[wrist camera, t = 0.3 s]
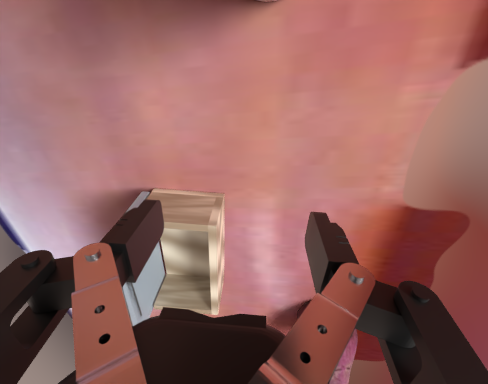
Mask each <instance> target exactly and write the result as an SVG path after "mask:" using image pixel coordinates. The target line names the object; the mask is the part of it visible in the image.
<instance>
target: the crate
mask: <svg viewBox="0 0 488 384" xmlns="http://www.w3.org/2000/svg"><path fill="white" fill-rule="evenodd" d="M147 199H151V200H160V202H161V205H162V212H163V219H164V231H163V234H162V236H161V238H160V240H161V246H162V251H163V257H164V262H165V267H166V273H167V274H166V277H165V279H164V281H163V284H162V286H161V289H160V291H159V294H158V296H157V298H156V301H155V303H154V309H159V310H162V309H163V307H169V308H180V309H189V310H192V311H194V312H197V313H203V314H214V315H218V312H219V305H220V299H221V293H222V287H223V281H224V193H211V192H197V191H184V190H171V189H158V188H154V189H153V191H152V192H151V193H150V195H149V196H148V197H147Z"/></svg>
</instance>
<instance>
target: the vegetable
mask: <svg viewBox="0 0 488 384" xmlns="http://www.w3.org/2000/svg"><path fill="white" fill-rule="evenodd" d="M310 302H311V301H309V302H307V303H305V304H304V305H303V306H302V307H301V308H300V309H299V311H298V313H297V319H299V317H300V316H301V314H302V313H303V312H304V310H305V309H306V307H307V306H308V305H309V303H310ZM356 347H357V330H356V329H355V330H354V332H353V334H352V336H351V338H350V340H349V342H348V344H347V347H346V349H345V351H344V353H343V355H342V357H341V359H340V361H339V363H338V366H337V368H336V370H335V372H334V374H333V376H332V378H331V381H330V383H329V384H348V382H349V376H350V370H351V367H352V363H353V360H354V356H355V352H356Z"/></svg>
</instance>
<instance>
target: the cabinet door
mask: <svg viewBox="0 0 488 384" xmlns="http://www.w3.org/2000/svg"><path fill="white" fill-rule="evenodd" d="M149 195H150V193H149V192H145V191H142V192H141V193H140V195H139V196H138V197H137V198H136V200H135V201H134V202H133V203H132V205H131V206H130V207H129V209H128V210H127V211H126V212H128V211H129V210H131V209H133V208H138V206H139V205H140V204H141V203H142V202H143V200H145V199H147V197H148V196H149ZM126 212H125V213H126ZM165 277H166V276H165V271H164V266H163V260H162V255H161V250H160V245H159V242H158V243H157V245H156V247H155V249H154V250H153V252H152V254H151V256H150V258H149V259H148V261H147V263H146V265H145V267H144V268H143V270H142V272H141V274H140V275H139V277H138V279H137V281H136V283H130V282H126V283H125V284H124V286H123V291H124V294H125V298H126V302H127V305H128V309H129V313H130V316H131V320H132V324H133V326H134V325H136V324H137V323H139V322H141V321H143V320H146V319H149V317H150V314H151V312H152V310H153V307H154V303H155V301H156V298H157V296H158V294H159V291H160V289H161V286H162V284H163V281H164V279H165Z"/></svg>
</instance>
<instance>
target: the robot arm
mask: <svg viewBox="0 0 488 384" xmlns="http://www.w3.org/2000/svg"><path fill="white" fill-rule="evenodd" d="M257 1H262V2H271V1H277V0H257ZM163 231H164V219H163V212H162V205H161V202H160V200H151V199H145V200H143V202H142V203H141V204H140V205H139V206H138V208H133V209H131V210H129V211H128V212H126V213H125V214H124V215H123V216H122V217H121V218H120V220H119V221H118V222H117V223H116V225H114V226H113V228H112V229H111V230H110V231H109V232H108V233H107V234H106V236H105V237H104V238H103V239H102V240H101V241H100V242H99V243H94V244H90V245H87V246H85V247H83V248H82V249H80V250H79V251H78V252H77V253H76V254H75V255H74V256H72V257H66V258H59V259H54V258H53V256H52V253H51V252H49V251H46V250H39V251H33V252H30V253H27V254H25V255H23V256H21V257H19V258H17V259H16V260H14V261H13V262H12V263H11V264H10V265H9V266H8V267H6V268H5V269H4V270H3V271H2V272H1V273H0V384H17V383H18V381H19V380H20V378H21V377H22V375H23V374H24V372H25V371H26V370H27V368H28V367H29V365H30V364H31V363H32V361H33V359H34V358H35V357H36V355H37V354H38V352H39V351H40V350H41V348H42V347H43V345H44V344H45V342H46V341H47V340H48V338H49V337H50V335H51V334H52V332H53V331H54V330H55V328H56V327H57V325H58V324H59V322H60V321H61V319H62V318H63V317H64V315H65V314H66V312H67V311H68V310H69V308H72V316H73V333H74V350H75V367H76V370H75V371H73V372H72V373H71V374H70V375H68V376H67V377H66V378H65V379H63V380H62V381H60V382H59V383H58V384H329V383H330V381H331V378H332V376H333V374H334V372H335V370H336V368H337V366H338V363H339V361H340V359H341V357H342V355H343V353H344V351H345V349H346V347H347V344H348V342H349V340H350V338H351V336H352V334H353V332H354V330H355V329H358V330H360V331H363V332H365V333H368V334H370V335H373V336H376V337H377V338H378V340H379V343H380V346H381V349H382V352H383V355H384V357H385V360H386V363H387V366H388V368H389V372H390V374H391V377H392V380H393V383H394V384H488V371H487V369H486V368H485V366H484V365H483V363H482V362H481V360H480V359H479V357H478V356H477V354H476V353H475V351H474V350H473V348H472V347H471V346H470V344H469V342H468V341H467V339H466V338H465V336H464V335H463V333H462V332H461V330H460V329H459V327H458V326H457V324H456V323H455V322H454V320H453V318H452V317H451V315H450V314H449V312H448V311H447V309H446V308H445V306H444V305H443V303H442V302H441V301H440V299H439V298H438V296H437V295H436V294H435V293H434V292H433V291H432V290H430V289H429V288H427V287H426V286H424V285H422V284H419V283H417V282H413V281H404V282H401V283H400V284H399V286H398V288H397V287H394V286H390V285H387V284H384V283H381V282H379V281H376V280H375V278H374V276H373V274H372V273H371V272H370V271H369V270H368V269H366V268H365V267H363V266H361V265H359V263H358V261H357V259H356V256H355V254H354V252H353V250H352V248H351V246H350V244H349V242H348V239H347V238H346V235H345V233H344V231H343V229H342V228H341V227H340V226H338V225H337V224H336V223H330V221H329V218H328V216H327V214H326V213H322V212H311V213H310V216H309V221H308V225H307V230H306V234H305V248H306V252H307V256H308V261H309V265H310V269H311V274H312V278H313V282H314V287H315V291H316V295H315V296H314V298H313V299H312V300H311V302H310V303H309V305H308V306H307V307H306V309H305V310H304V312H303V313H302V314H301V316H300V317H299V319H298V320H297V321H296V323H295V324H294V325H293V327H292V328H291V330H290V331H289V332H288V334H287V335H286V336H285V335H284V334H283V333H281V332H280V331H278V330H277V329H275V328H273V327H271V326H268V325H266V316H259V315H248V314H236V315H230V316H224V317H217V318H211V317H208V316H206V315H203V314H200V313H197V312H194V311H192V310H189V309H180V308H169V307H163V309H162V311H161V314H160V316H155V317H152V318H149V319H146V320H143V321H141V322H139V323H137V324H136V325H134V326H133V324H132V320H131V316H130V313H129V309H128V305H127V302H126V298H125V294H124V291H123V286H124V284H125V283H126V282H130V283H136V281H137V279H138V277H139V275H140V274H141V272H142V270H143V268H144V267H145V265H146V263H147V261H148V259H149V258H150V256H151V254H152V252H153V250H154V249H155V247H156V245H157V243H158V242H159V240H160V238H161V236H162V234H163ZM26 302H27V303H28V304H29V306H28V307H27V308H26V309H25V310H24V312H23V313H22V314H21V315H20V316H19V317H18V319H17V320H16V321H15V322H14V323H13V324H12V325H11V327H10V324H11V321H12V319H13V317H14V316H15V314H16V313H17V312H18V311H19V310H20V309H21V308H22V306H23V305H24V304H25V303H26Z"/></svg>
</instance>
